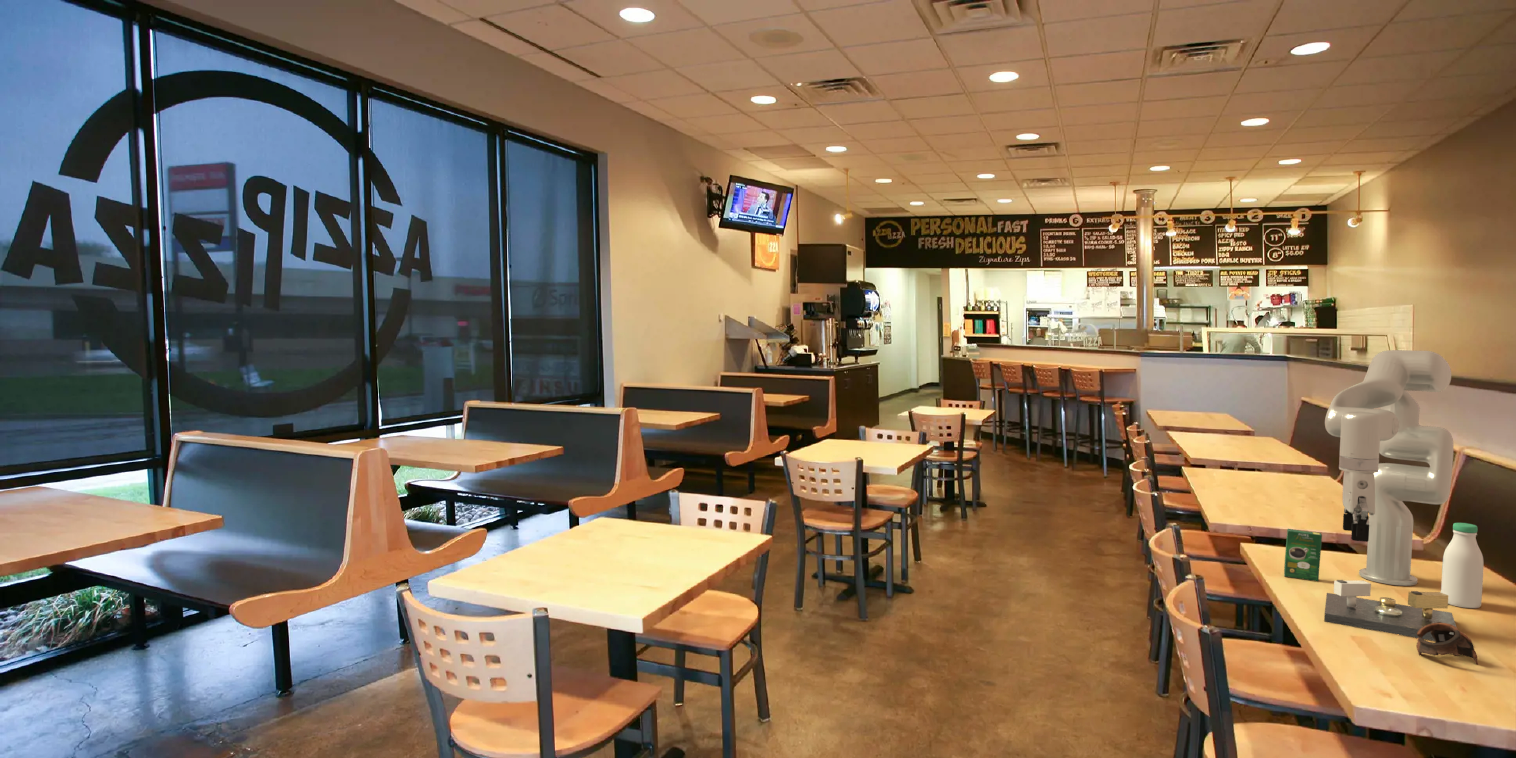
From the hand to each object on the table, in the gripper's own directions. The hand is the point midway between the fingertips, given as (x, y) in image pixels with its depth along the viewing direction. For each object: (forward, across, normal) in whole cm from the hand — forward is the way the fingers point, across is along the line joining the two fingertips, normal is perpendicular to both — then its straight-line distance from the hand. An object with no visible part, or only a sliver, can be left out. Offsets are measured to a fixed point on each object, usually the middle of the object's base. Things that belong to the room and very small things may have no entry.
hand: (1355, 535), depth 194 cm
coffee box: (+20, +28, +6) cm, 35 cm away
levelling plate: (+19, -2, -7) cm, 20 cm away
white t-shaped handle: (+17, -1, 0) cm, 17 cm away
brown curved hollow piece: (+19, -22, -12) cm, 32 cm away
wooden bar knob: (+17, -3, -14) cm, 22 cm away
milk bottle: (+20, +21, -26) cm, 39 cm away
